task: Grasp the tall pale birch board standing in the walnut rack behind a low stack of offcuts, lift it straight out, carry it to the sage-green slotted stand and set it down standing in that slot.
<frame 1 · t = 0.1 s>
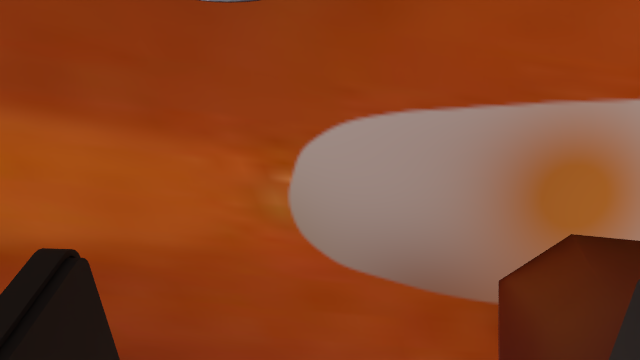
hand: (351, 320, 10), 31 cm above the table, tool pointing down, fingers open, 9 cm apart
bucket: (581, 308, 50), on the table
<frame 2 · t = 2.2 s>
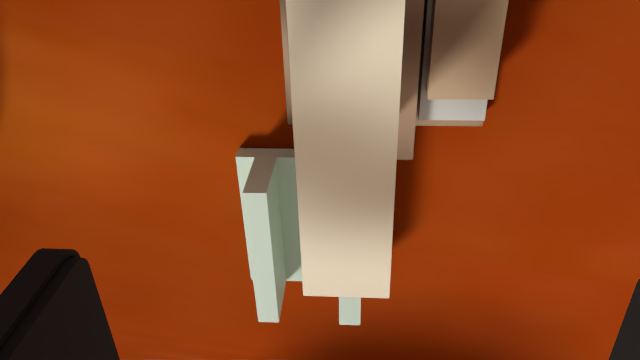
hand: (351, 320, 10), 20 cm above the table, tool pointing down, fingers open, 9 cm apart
slotted stand: (312, 214, 33), on the table
rack: (387, 2, 26), on the table
birch board: (355, 8, 25), point 1 cm above the table, touching rack
offcut stack: (459, 18, 24), point 3 cm above the table
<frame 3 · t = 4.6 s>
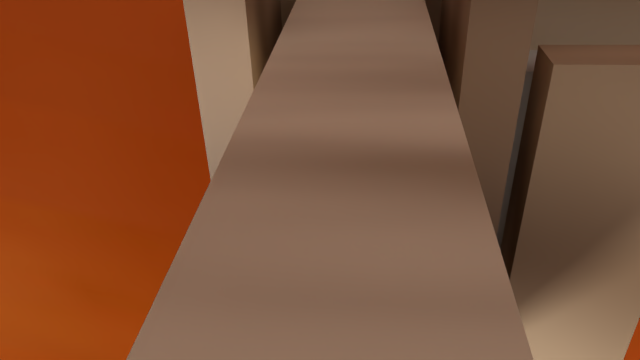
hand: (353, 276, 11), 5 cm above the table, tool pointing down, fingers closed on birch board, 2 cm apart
rack: (414, 149, 15), on the table
birch board: (358, 167, 14), point 1 cm above the table, touching gripper, rack
offcut stack: (557, 209, 12), point 3 cm above the table
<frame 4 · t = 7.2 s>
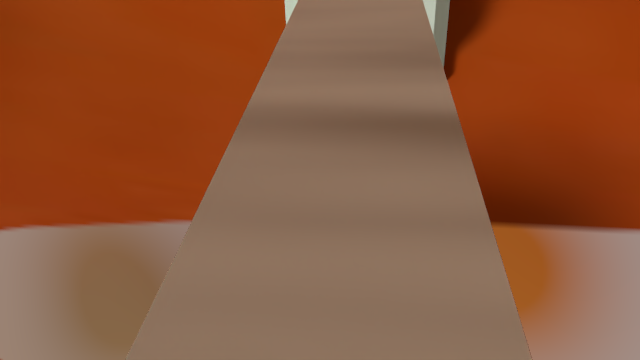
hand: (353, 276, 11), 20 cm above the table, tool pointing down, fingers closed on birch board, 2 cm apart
slotted stand: (366, 4, 28), on the table
birch board: (359, 153, 15), point 15 cm above the table, touching gripper
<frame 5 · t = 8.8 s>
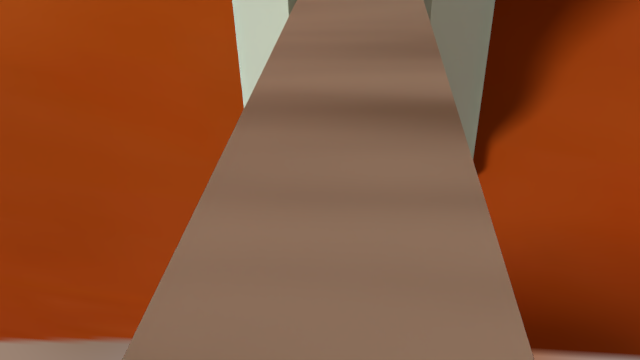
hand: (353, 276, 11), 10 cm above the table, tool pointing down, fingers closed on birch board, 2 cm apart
slotted stand: (360, 76, 19), on the table
birch board: (359, 146, 15), point 5 cm above the table, touching gripper
when the fingers open (7 cm above the table, at t = 10.1 s): birch board stays where it is, resting on slotted stand.
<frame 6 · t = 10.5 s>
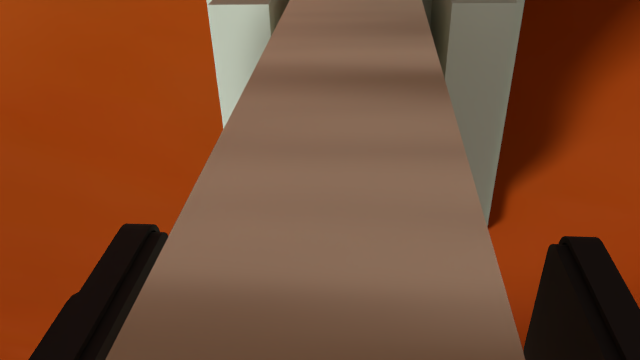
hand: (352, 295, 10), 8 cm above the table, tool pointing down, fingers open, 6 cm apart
slotted stand: (361, 116, 17), on the table
birch board: (358, 128, 16), point 1 cm above the table, touching slotted stand
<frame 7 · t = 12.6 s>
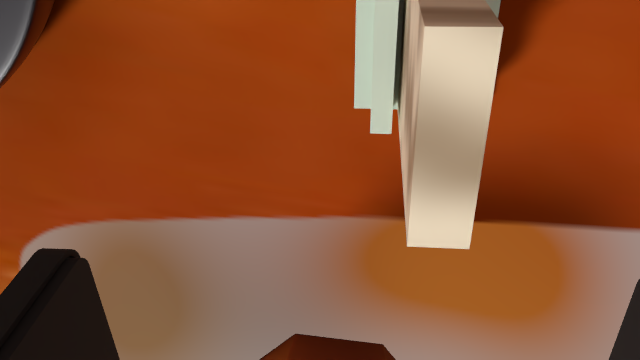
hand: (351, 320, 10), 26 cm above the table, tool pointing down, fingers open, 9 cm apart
slotted stand: (423, 33, 33), on the table
birch board: (423, 36, 32), point 1 cm above the table, touching slotted stand
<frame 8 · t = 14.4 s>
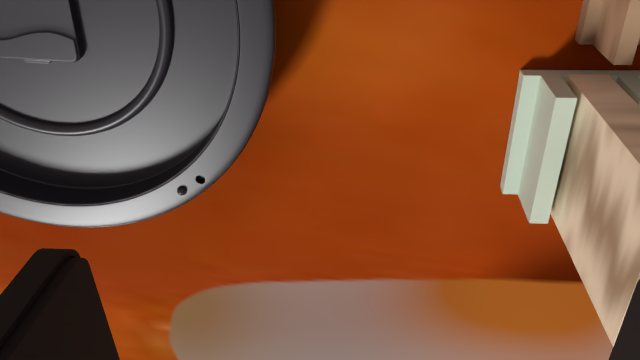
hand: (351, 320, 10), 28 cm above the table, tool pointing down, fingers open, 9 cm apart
slotted stand: (569, 132, 38), on the table
birch board: (572, 138, 37), point 1 cm above the table, touching slotted stand
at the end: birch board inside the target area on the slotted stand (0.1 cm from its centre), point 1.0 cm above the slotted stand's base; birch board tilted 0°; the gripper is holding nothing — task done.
